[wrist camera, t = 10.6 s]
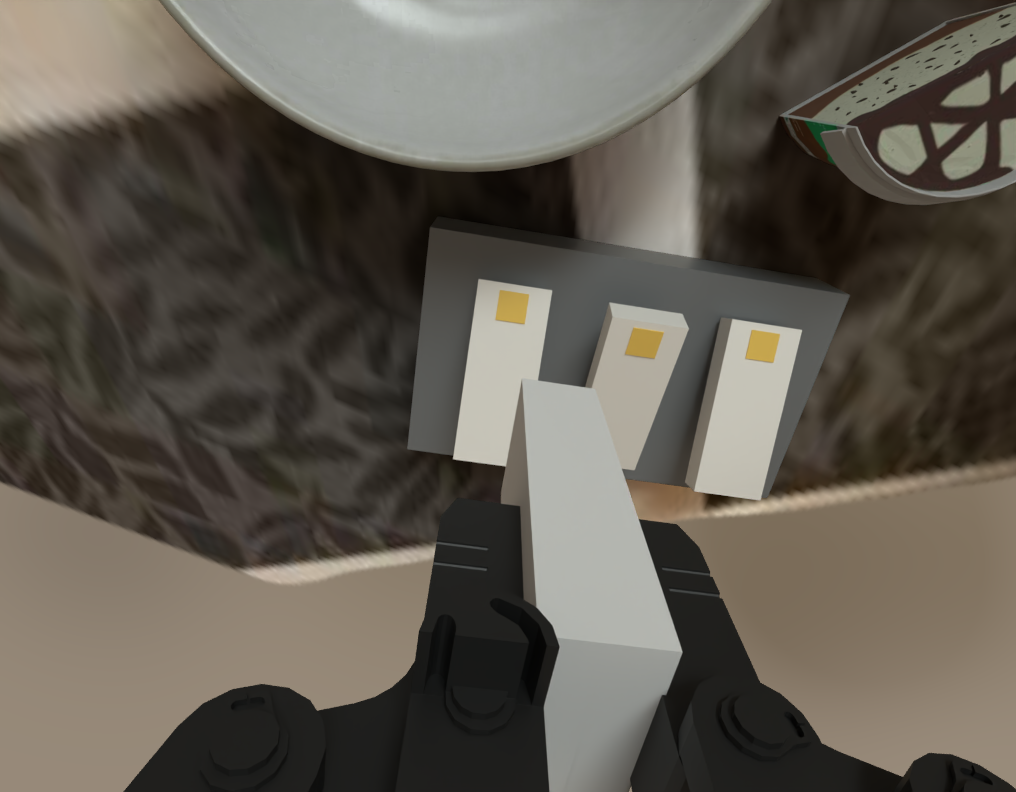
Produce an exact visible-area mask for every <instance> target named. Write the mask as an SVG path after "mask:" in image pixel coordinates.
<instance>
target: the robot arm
mask: <svg viewBox="0 0 1016 792" xmlns="http://www.w3.org/2000/svg"><path fill="white" fill-rule="evenodd" d="M719 594H720V593H719V590H718V588H717V586H716V584H715V582H714V579H713V577H710V571H709V568H708V566H707V564H706V562H705V559H704V557H703V555H702V553H701V551H700V548H699V547H698V546H697V545H696V544H695V543H694V541H692V539H690V537H689V536H688V535H687V534H686V533H685V532H684V531H683V530H682V529H681V528H680V527H679V526H678V525H677V524H670V523H662V522H655V521H647V520H640V519H638V516H637V513H636V510H635V507H634V504H633V501H632V498H631V495H630V492H629V489H628V486H627V483H626V480H625V477H624V474H623V471H622V468H621V465H620V462H619V459H618V456H617V453H616V450H615V447H614V444H613V441H612V438H611V435H610V432H609V429H608V426H607V423H606V420H605V417H604V414H603V411H602V408H601V405H600V402H599V399H598V396H597V393H596V390H595V389H592V388H586V387H579V386H572V385H565V384H558V383H551V382H544V381H538V380H531V379H524V378H522V381H521V387H520V392H519V398H518V403H517V408H516V414H515V419H514V425H513V430H512V436H511V441H510V446H509V452H508V457H507V463H506V468H505V474H504V479H503V484H502V490H501V504H500V503H493V502H485V501H477V500H470V499H462V498H457V499H456V500H455V501H454V502H453V503H452V504H451V506H450V507H449V508H448V509H447V510H446V511H445V512H444V513H443V514H442V516H441V519H440V525H439V531H438V537H437V544H436V550H435V556H434V562H433V568H432V575H431V580H430V586H429V593H428V599H427V605H426V611H425V618H424V621H423V623H422V626H421V628H420V630H419V635H418V643H417V651H416V658H415V662H414V663H413V665H412V666H411V668H410V670H409V671H408V673H407V674H406V675H405V676H404V677H403V678H402V679H401V680H400V681H399V682H398V683H396V684H395V685H394V686H393V687H392V688H390V689H388V690H387V691H385V692H383V693H381V694H379V695H378V696H376V697H374V698H371V699H367V700H364V701H361V702H357V703H354V704H349V705H344V706H339V707H334V708H329V709H324V710H319V711H317V710H316V709H315V707H314V706H313V704H312V703H311V701H310V700H308V699H307V698H305V697H303V696H301V695H300V694H298V693H296V692H295V691H293V690H291V689H290V688H286V687H279V686H272V685H265V684H260V685H254V686H248V687H243V688H237V689H232V690H230V691H228V692H226V693H224V694H222V695H220V696H218V697H216V698H214V699H212V700H210V701H208V702H205V703H203V704H202V705H201V706H200V707H199V708H198V709H197V710H196V711H194V712H193V713H192V714H191V715H190V716H189V717H188V718H187V719H185V720H184V721H183V722H182V723H181V724H180V725H179V726H178V727H177V728H176V729H175V730H174V731H173V733H172V734H171V735H170V736H169V738H168V739H167V740H166V741H165V742H164V744H163V745H162V746H161V747H160V748H159V750H158V751H157V752H156V753H155V754H154V756H153V757H152V758H151V759H150V760H149V762H148V763H147V764H146V765H145V767H144V768H143V769H142V770H141V771H140V772H139V774H138V775H137V776H136V777H135V778H134V780H133V781H132V782H131V784H130V785H129V786H128V787H127V788H126V789H125V791H124V792H629V789H630V787H632V792H1016V789H1015V788H1014V787H1013V786H1011V785H1010V784H1009V783H1007V782H1005V781H1004V780H1002V779H1001V778H999V777H998V776H996V775H994V774H993V773H991V772H990V771H988V770H986V769H985V768H983V767H982V766H980V765H978V764H975V763H972V762H970V761H967V760H965V759H962V758H959V757H957V756H954V755H951V754H936V753H928V754H926V755H924V756H922V757H921V758H919V759H917V760H915V761H914V762H913V763H912V765H911V766H910V768H909V769H908V771H907V772H906V774H905V775H904V777H901V776H899V775H896V774H894V773H891V772H889V771H886V770H884V769H881V768H879V767H876V766H873V765H871V764H869V763H866V762H864V761H861V760H859V759H856V758H854V757H851V756H848V755H846V754H843V753H841V752H838V751H836V750H834V749H832V748H830V747H828V746H826V745H824V744H822V743H821V741H820V739H819V737H818V736H817V734H816V733H815V731H814V730H813V728H812V727H811V726H810V724H809V722H808V721H807V719H806V718H805V717H804V715H803V714H802V713H801V712H800V711H799V710H798V709H797V708H796V707H795V706H794V705H792V704H791V703H790V702H789V701H788V700H787V699H786V698H785V697H784V696H782V695H781V694H780V693H778V692H776V691H774V690H773V689H771V688H769V687H767V686H766V685H764V684H762V683H760V681H759V679H758V677H757V675H756V672H755V670H754V668H753V666H752V664H751V661H750V659H749V657H748V655H747V652H746V650H745V648H744V646H743V644H742V641H741V639H740V637H739V635H738V632H737V630H736V628H735V626H734V624H733V621H732V619H731V617H730V615H729V613H728V610H727V608H726V606H725V604H724V601H723V599H721V598H719Z"/></svg>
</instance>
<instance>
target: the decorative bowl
mask: <svg viewBox="0 0 1016 792" xmlns="http://www.w3.org/2000/svg"><path fill="white" fill-rule="evenodd" d="M159 1H160V2H161V4H162V5H163V6H164V8H165V9H166V10H167V11H168V13H169V14H170V15H171V16H172V17H173V18H174V19H175V20H176V22H177V23H178V24H179V25H180V26H181V27H182V28H183V29H184V31H185V32H186V33H187V34H188V35H189V36H190V37H191V38H192V39H193V40H194V41H195V42H196V43H197V44H198V45H199V46H200V47H201V48H202V49H203V50H204V51H205V52H206V53H207V54H208V55H209V56H210V57H211V58H212V59H213V60H214V61H215V62H216V63H217V64H218V65H219V66H220V67H221V68H223V69H224V70H225V71H226V72H227V73H228V74H229V75H231V76H232V77H233V78H234V79H235V80H236V81H237V82H239V83H240V84H241V85H242V86H244V87H245V88H246V89H248V90H249V91H250V92H251V93H253V94H254V95H255V96H257V97H258V98H259V99H261V100H262V101H263V102H265V103H266V104H268V105H269V106H271V107H272V108H274V109H275V110H277V111H278V112H280V113H281V114H283V115H284V116H286V117H287V118H289V119H290V120H292V121H294V122H296V123H298V124H299V125H301V126H303V127H305V128H307V129H308V130H310V131H312V132H314V133H316V134H318V135H320V136H322V137H324V138H326V139H328V140H331V141H333V142H335V143H337V144H339V145H341V146H344V147H347V148H349V149H352V150H355V151H357V152H360V153H363V154H365V155H368V156H372V157H375V158H379V159H382V160H386V161H389V162H393V163H397V164H402V165H407V166H412V167H417V168H423V169H432V170H440V171H454V172H485V171H501V170H509V169H516V168H523V167H529V166H533V165H538V164H542V163H547V162H551V161H554V160H558V159H561V158H564V157H567V156H571V155H574V154H577V153H580V152H582V151H585V150H587V149H590V148H592V147H595V146H597V145H600V144H602V143H604V142H606V141H608V140H610V139H612V138H614V137H616V136H618V135H620V134H622V133H624V132H626V131H628V130H630V129H632V128H633V127H635V126H637V125H638V124H640V123H642V122H643V121H645V120H647V119H648V118H650V117H652V116H653V115H655V114H656V113H657V112H659V111H660V110H662V109H663V108H665V107H666V106H667V105H669V104H670V103H672V102H673V101H675V100H676V99H677V98H678V97H680V96H681V95H682V94H683V93H685V92H686V91H687V90H688V89H689V88H691V87H692V86H693V85H694V84H696V83H697V82H698V81H699V80H700V79H702V78H703V77H704V76H705V75H706V74H707V73H708V72H709V71H710V70H711V69H712V68H713V67H714V66H715V65H716V64H717V63H719V62H720V61H721V60H722V59H723V58H724V57H725V56H726V55H727V53H728V52H729V51H730V50H731V49H732V48H733V47H734V46H735V45H736V44H737V43H738V42H739V40H740V39H741V38H742V37H743V36H744V35H745V34H746V33H747V32H748V30H749V29H750V28H751V27H752V25H753V24H754V23H755V22H756V20H757V19H758V18H759V17H760V16H761V14H762V13H763V12H764V11H765V9H766V8H767V7H768V6H769V4H770V3H771V1H772V0H159Z"/></svg>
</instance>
